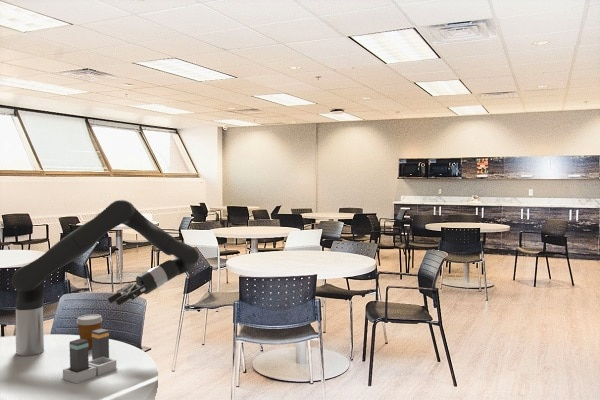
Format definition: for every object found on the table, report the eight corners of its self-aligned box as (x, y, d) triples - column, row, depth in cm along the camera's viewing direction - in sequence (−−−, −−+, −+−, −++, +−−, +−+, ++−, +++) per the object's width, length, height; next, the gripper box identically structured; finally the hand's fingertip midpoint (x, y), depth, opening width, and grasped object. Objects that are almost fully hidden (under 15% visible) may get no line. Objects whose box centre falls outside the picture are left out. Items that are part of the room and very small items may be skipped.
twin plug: (70, 378, 173) (69, 341, 172) (81, 374, 176) (80, 338, 176) (77, 380, 170) (77, 343, 170) (89, 376, 174) (88, 340, 173)
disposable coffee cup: (94, 351, 203) (93, 320, 203) (71, 350, 205) (71, 319, 204) (107, 344, 212) (107, 314, 212) (86, 342, 214) (85, 313, 214)
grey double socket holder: (61, 382, 172) (60, 369, 172) (103, 367, 186) (103, 355, 185) (76, 387, 168) (75, 374, 168) (118, 372, 181) (118, 360, 181)
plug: (92, 364, 189) (91, 331, 188) (102, 361, 192) (101, 328, 192) (99, 366, 187) (98, 332, 186) (109, 363, 190) (108, 330, 190)
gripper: (140, 270, 204) (101, 291, 195) (155, 271, 193) (115, 293, 184) (148, 287, 206) (110, 309, 196) (163, 289, 195) (124, 312, 185)
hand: (112, 301), depth 190 cm, fingers open, 8 cm apart
